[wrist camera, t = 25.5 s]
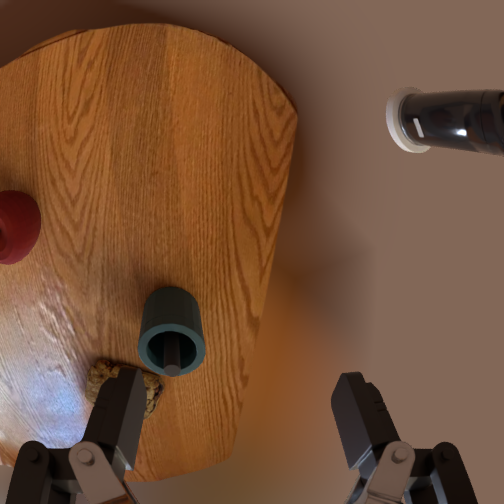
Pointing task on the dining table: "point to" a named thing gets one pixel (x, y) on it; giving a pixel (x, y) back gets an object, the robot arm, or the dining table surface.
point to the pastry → (106, 370)
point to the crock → (171, 329)
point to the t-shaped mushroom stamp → (171, 353)
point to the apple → (17, 225)
